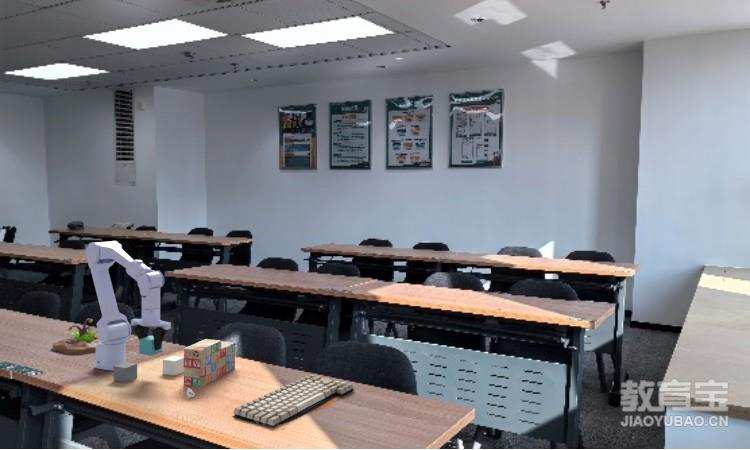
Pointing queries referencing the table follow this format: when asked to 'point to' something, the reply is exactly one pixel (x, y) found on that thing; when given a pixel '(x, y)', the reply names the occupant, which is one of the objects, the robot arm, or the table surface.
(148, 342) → the teal block
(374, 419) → the table surface
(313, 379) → the mechanical keyboard
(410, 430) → the table surface
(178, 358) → the cream block
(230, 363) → the stack of blocks
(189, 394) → the power adapter
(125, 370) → the charcoal block
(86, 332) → the plant
